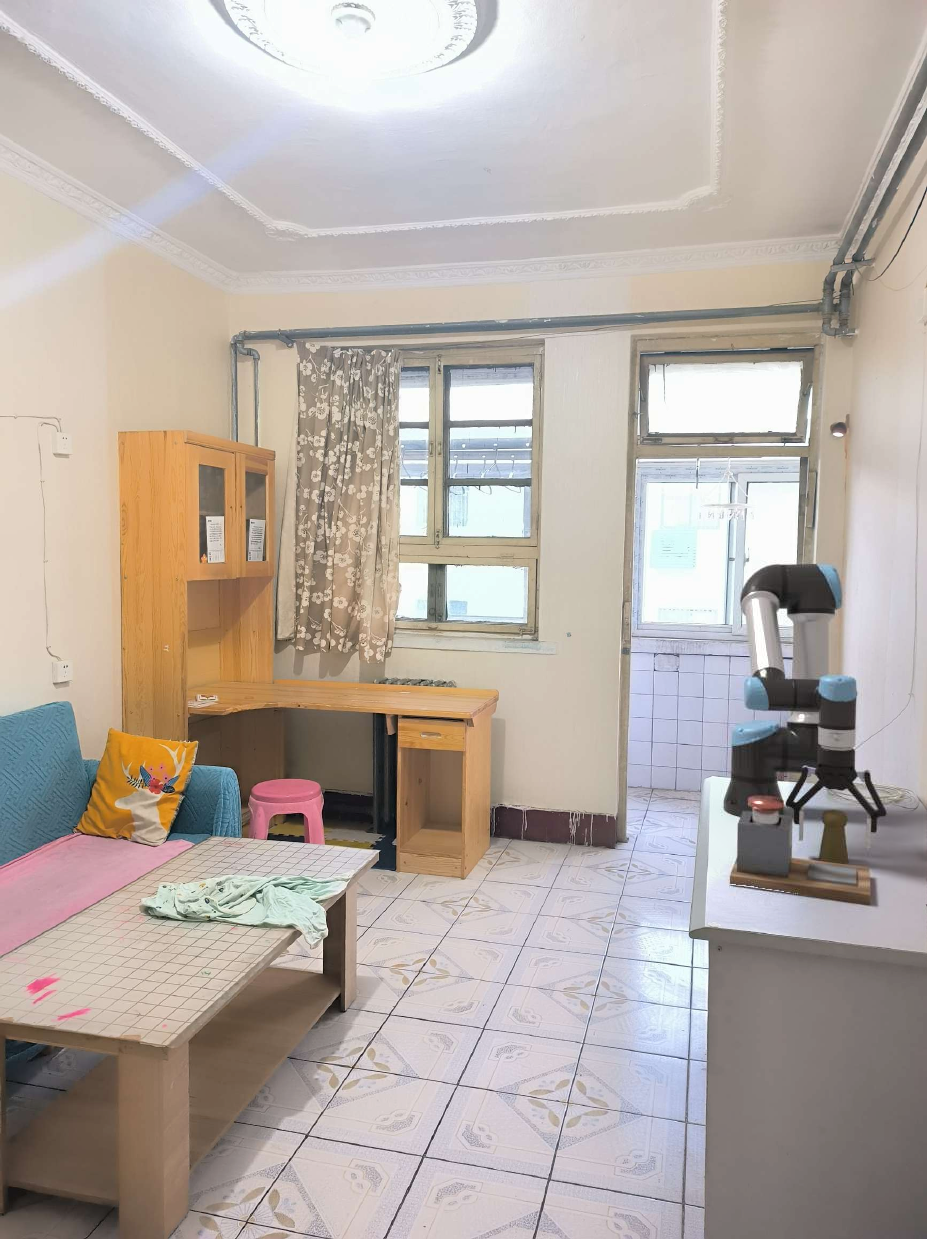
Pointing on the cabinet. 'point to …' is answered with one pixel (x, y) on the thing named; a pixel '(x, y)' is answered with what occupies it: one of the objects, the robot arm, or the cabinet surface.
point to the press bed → (814, 880)
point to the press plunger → (765, 809)
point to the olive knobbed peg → (834, 837)
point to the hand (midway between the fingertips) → (834, 843)
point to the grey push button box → (764, 846)
